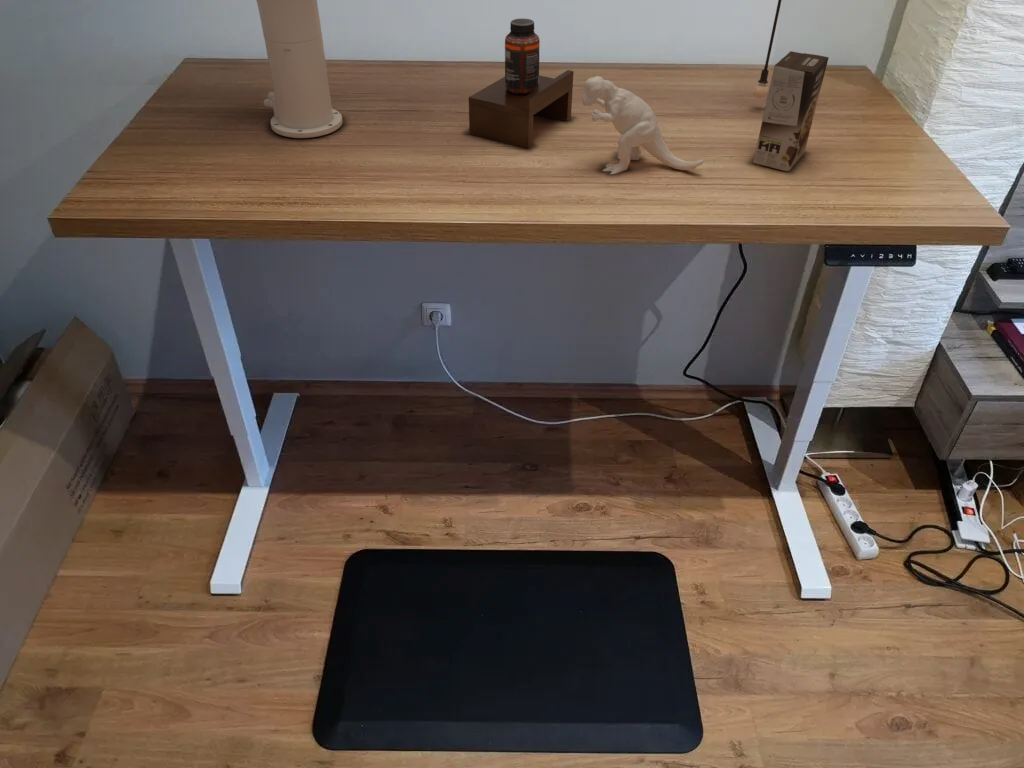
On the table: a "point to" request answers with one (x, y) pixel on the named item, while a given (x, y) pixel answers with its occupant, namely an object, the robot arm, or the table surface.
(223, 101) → the table surface
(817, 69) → the coffee box
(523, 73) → the supplement bottle
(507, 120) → the stand
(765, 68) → the light fixture
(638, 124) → the dinosaur figurine
